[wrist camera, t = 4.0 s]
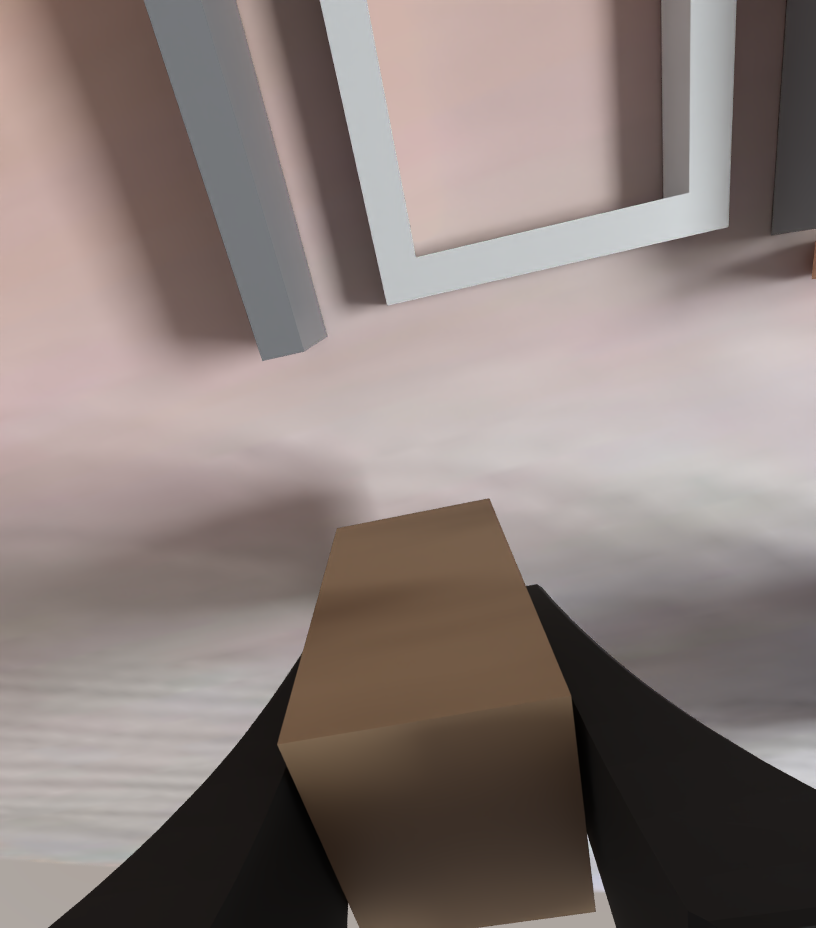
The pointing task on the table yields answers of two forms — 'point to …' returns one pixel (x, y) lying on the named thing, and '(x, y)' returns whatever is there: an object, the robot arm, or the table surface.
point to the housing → (402, 273)
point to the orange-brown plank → (814, 264)
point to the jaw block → (437, 730)
